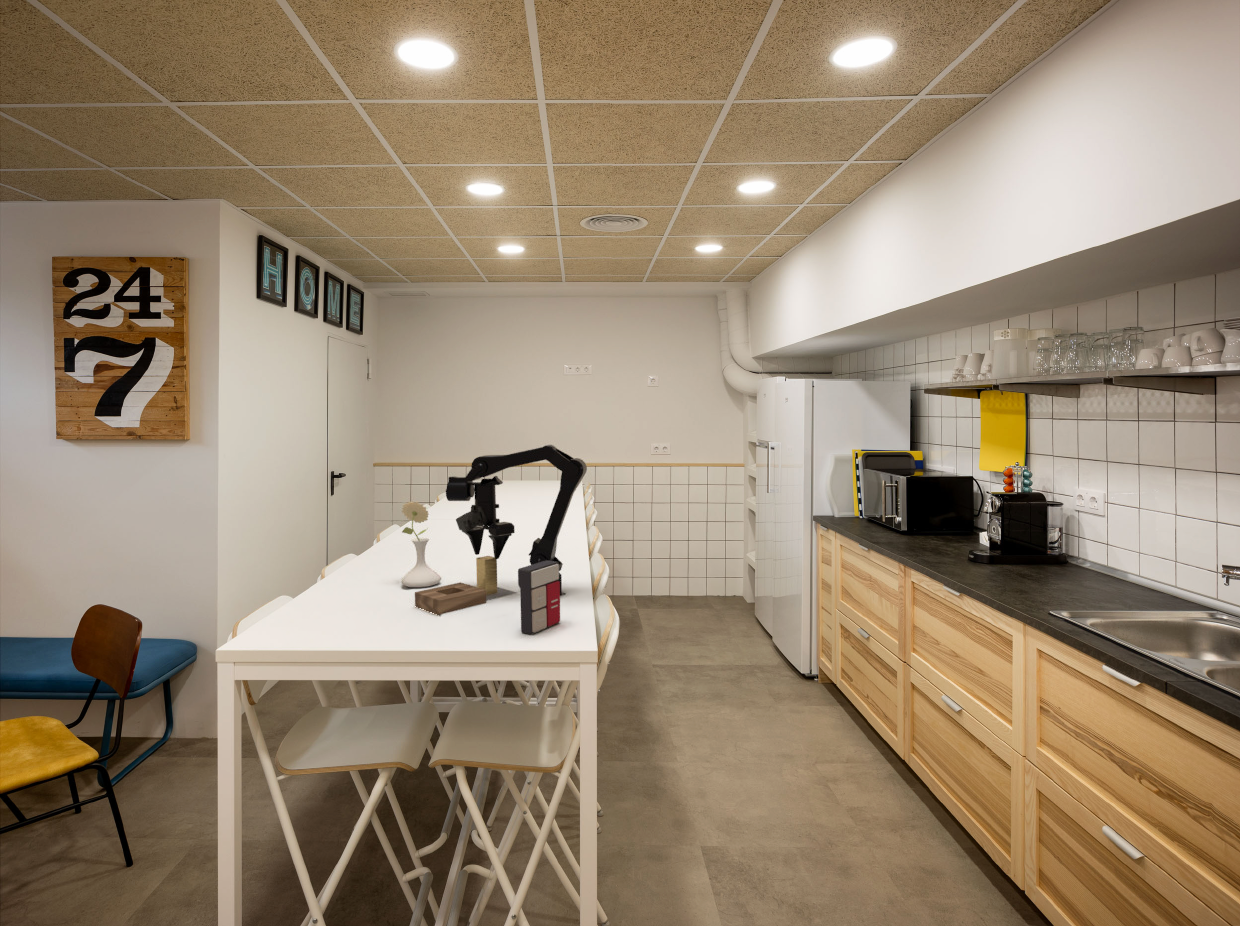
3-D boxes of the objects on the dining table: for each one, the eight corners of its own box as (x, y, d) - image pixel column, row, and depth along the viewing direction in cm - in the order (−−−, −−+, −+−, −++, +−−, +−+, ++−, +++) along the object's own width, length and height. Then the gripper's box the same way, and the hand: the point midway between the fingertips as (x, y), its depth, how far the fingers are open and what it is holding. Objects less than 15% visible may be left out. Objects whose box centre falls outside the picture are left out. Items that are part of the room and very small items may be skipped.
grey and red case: (533, 635, 156) (532, 570, 155) (518, 632, 158) (517, 568, 157) (562, 623, 165) (561, 561, 164) (548, 620, 168) (547, 559, 167)
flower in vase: (449, 584, 204) (447, 500, 203) (419, 592, 195) (417, 505, 193) (419, 578, 211) (417, 498, 210) (389, 586, 202) (386, 502, 200)
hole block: (486, 604, 182) (486, 589, 182) (440, 616, 172) (439, 600, 172) (460, 596, 190) (460, 582, 190) (415, 607, 180) (414, 592, 180)
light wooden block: (497, 592, 192) (496, 557, 191) (485, 595, 189) (484, 559, 188) (488, 590, 195) (488, 555, 194) (477, 593, 192) (476, 557, 191)
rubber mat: (517, 594, 192) (517, 592, 192) (482, 603, 183) (481, 601, 183) (492, 587, 200) (492, 585, 200) (456, 595, 192) (456, 593, 191)
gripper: (441, 501, 190) (443, 556, 192) (480, 506, 178) (482, 566, 179) (475, 497, 198) (476, 550, 200) (515, 502, 186) (516, 559, 187)
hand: (486, 556), depth 191 cm, fingers open, 9 cm apart
